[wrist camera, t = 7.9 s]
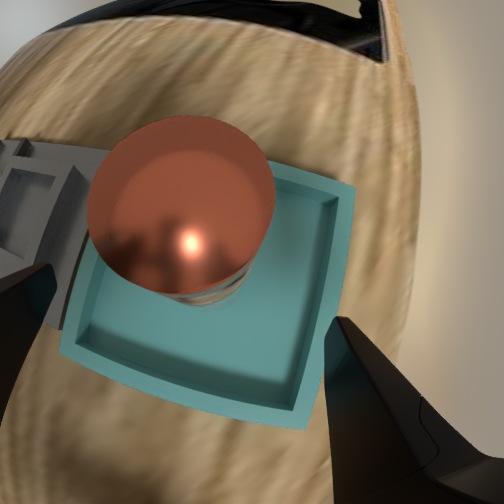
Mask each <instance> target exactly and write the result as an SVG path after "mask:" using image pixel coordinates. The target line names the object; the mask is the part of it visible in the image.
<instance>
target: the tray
mask: <svg viewBox="0 0 504 504" xmlns="http://www.w3.org/2000/svg"><path fill="white" fill-rule="evenodd" d="M267 161H268V163H269V166H270V168H271V170H272V174H273V178H274V183H275V207H274V212H273V217H272V220H271V223H270V225H269V228H268V231H267V233H266V235H265V238H264V240H263V242H262V244H261V247H260V249H259V251H258V254H257V256H256V258H255V260H254V263H253V265H252V267H251V270H250V272H249V274H248V276H247V279H246V281H245V283H244V285H243V288H242V290H241V292H240V294H239V295H238V297H237V298H236V299H235V300H234V301H233V302H232V303H231V304H229V305H228V306H226V307H224V308H222V309H219V310H215V311H201V310H197V309H194V308H192V307H189V306H187V305H184V304H182V303H179V302H176V301H174V300H171V299H169V298H166V297H164V296H162V295H159V294H157V293H154V292H152V291H150V290H147V289H145V288H143V287H140V286H138V285H136V284H133V283H131V282H129V281H127V280H125V279H124V278H122V277H121V276H119V275H118V274H116V273H115V272H114V271H113V270H112V269H111V268H110V267H109V266H107V264H106V263H105V262H104V261H103V259H102V258H101V257H100V255H99V254H98V252H97V250H96V249H95V247H94V245H93V242H92V239H91V237H90V236H89V239H88V242H87V245H86V247H85V250H84V253H83V256H82V259H81V262H80V266H79V269H78V272H77V275H76V279H75V282H74V286H73V289H72V293H71V297H70V301H69V304H68V309H67V313H66V317H65V322H64V326H63V331H62V336H61V341H60V347H59V353H60V354H62V355H63V356H65V357H67V358H69V359H71V360H73V361H75V362H77V363H79V364H81V365H83V366H85V367H87V368H89V369H91V370H93V371H95V372H97V373H99V374H101V375H104V376H106V377H108V378H110V379H113V380H115V381H117V382H120V383H122V384H124V385H127V386H129V387H132V388H134V389H137V390H139V391H142V392H145V393H148V394H150V395H153V396H156V397H159V398H162V399H165V400H168V401H171V402H174V403H177V404H180V405H183V406H187V407H190V408H194V409H197V410H201V411H205V412H208V413H212V414H216V415H220V416H225V417H229V418H233V419H238V420H243V421H248V422H253V423H259V424H264V425H270V426H277V427H284V428H291V429H300V430H306V427H307V424H308V421H309V418H310V415H311V412H312V409H313V406H314V402H315V399H316V396H317V392H318V389H319V385H320V382H321V378H322V374H323V371H324V338H325V335H326V333H327V330H328V328H329V326H330V324H331V322H332V320H333V318H334V317H336V316H337V311H338V307H339V302H340V296H341V291H342V286H343V280H344V274H345V269H346V262H347V256H348V249H349V243H350V235H351V228H352V220H353V211H354V202H355V192H356V187H353V186H350V185H348V184H345V183H342V182H339V181H336V180H333V179H330V178H327V177H324V176H321V175H317V174H314V173H311V172H308V171H304V170H301V169H298V168H294V167H291V166H287V165H284V164H280V163H277V162H273V161H269V160H267Z"/></svg>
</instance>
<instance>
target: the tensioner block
mask: <svg viewBox="0 0 504 504" xmlns="http://www.w3.org/2000/svg"><path fill="white" fill-rule="evenodd" d="M109 152H110V150H103V149H96V148H88V147H81V146H72V145H63V144H54V143H43V142H31V141H28V139H27V138H22V139H21V141H16V140H0V279H1V278H3V277H5V276H8V275H10V274H12V273H15V272H17V271H19V270H22V269H24V268H26V267H29V266H31V265H34V264H36V263H39V262H42V261H43V262H47V263H50V264H52V266H53V269H54V273H55V276H56V280H57V291H56V293H55V296H54V298H53V300H52V302H51V304H50V307H49V309H48V311H47V313H46V316H45V318H44V321H43V322H45V323H46V324H48V325H50V326H52V327H54V328H55V329H57V330H63V326H64V322H65V317H66V313H67V309H68V304H69V301H70V297H71V293H72V289H73V286H74V282H75V279H76V275H77V272H78V269H79V266H80V262H81V259H82V256H83V253H84V250H85V247H86V245H87V242H88V239H89V236H90V233H89V229H88V225H87V200H88V194H89V190H90V187H91V184H92V181H93V178H94V176H95V174H96V172H97V170H98V168H99V166H100V165H101V163H102V162H103V160H104V159H105V158H106V156H107V155H108V154H109Z"/></svg>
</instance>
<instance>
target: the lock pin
mask: <svg viewBox="0 0 504 504" xmlns="http://www.w3.org/2000/svg"><path fill="white" fill-rule="evenodd" d="M274 207H275V183H274V178H273V174H272V170H271V168H270V166H269V163H268V161H267V159H266V157H265V156H264V154H263V152H262V151H261V150H260V148H259V147H258V146H257V145H256V143H255V142H254V141H253V140H251V139H250V138H249V137H248V136H247V135H246V134H244V133H243V132H242V131H240V130H239V129H237V128H235V127H233V126H232V125H230V124H227V123H225V122H222V121H220V120H216V119H212V118H208V117H201V116H177V117H171V118H166V119H162V120H159V121H155V122H153V123H150V124H148V125H145V126H143V127H141V128H139V129H138V130H136V131H134V132H133V133H131V134H130V135H128V136H127V137H125V138H124V139H123V140H122V141H121V142H119V143H118V144H117V145H116V146H115V147H114V148H113V149H112V150H111V151H110V152H109V154H108V155H107V156H106V158H105V159H104V160H103V162H102V163H101V165H100V166H99V168H98V170H97V172H96V174H95V176H94V178H93V181H92V184H91V187H90V190H89V194H88V200H87V225H88V229H89V233H90V237H91V239H92V242H93V245H94V247H95V249H96V250H97V252H98V254H99V255H100V257H101V258H102V259H103V261H104V262H105V263H106V264H107V266H109V267H110V268H111V269H112V270H113V271H114V272H115V273H116V274H118V275H119V276H121V277H122V278H124V279H125V280H127V281H129V282H131V283H133V284H136V285H138V286H140V287H143V288H145V289H147V290H150V291H152V292H154V293H157V294H159V295H162V296H164V297H166V298H169V299H171V300H174V301H176V302H179V303H182V304H184V305H187V306H189V307H192V308H194V309H197V310H201V311H215V310H219V309H222V308H224V307H226V306H228V305H229V304H231V303H232V302H233V301H234V300H235V299H236V298H237V297H238V295H239V294H240V292H241V290H242V288H243V285H244V283H245V281H246V279H247V276H248V274H249V272H250V270H251V267H252V265H253V263H254V260H255V258H256V256H257V254H258V251H259V249H260V247H261V244H262V242H263V240H264V238H265V235H266V233H267V231H268V228H269V225H270V223H271V220H272V217H273V212H274Z"/></svg>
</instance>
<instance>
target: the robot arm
mask: <svg viewBox="0 0 504 504" xmlns="http://www.w3.org/2000/svg"><path fill="white" fill-rule="evenodd" d="M56 291H57V280H56V276H55V273H54V269H53V266H52V264H50V263H47V262H43V261H42V262H39V263H36V264H34V265H31V266H29V267H26V268H24V269H22V270H19V271H17V272H15V273H12V274H10V275H8V276H5V277H3V278H1V279H0V426H1V422H2V419H3V416H4V413H5V410H6V407H7V404H8V401H9V398H10V395H11V393H12V390H13V387H14V385H15V382H16V380H17V377H18V375H19V372H20V370H21V368H22V365H23V363H24V361H25V359H26V356H27V354H28V352H29V350H30V348H31V346H32V344H33V342H34V340H35V337H36V335H37V334H38V332H39V329H40V327H41V325H42V323H43V321H44V318H45V316H46V313H47V311H48V309H49V307H50V304H51V302H52V300H53V298H54V296H55V293H56ZM324 387H325V397H326V406H327V416H328V426H329V436H330V448H331V461H332V476H333V495H334V504H504V458H496V457H491V456H488V455H485V454H483V453H481V452H480V451H478V450H477V449H476V448H475V447H473V445H472V444H470V443H469V442H468V441H467V440H466V439H465V438H464V437H463V436H462V435H461V434H460V433H459V432H458V431H456V430H455V429H454V428H453V427H452V426H451V425H450V424H449V423H448V422H447V421H446V420H445V419H444V418H443V417H442V416H441V415H440V414H439V413H438V412H437V411H436V410H435V409H434V408H433V407H432V406H431V405H430V404H429V403H428V401H426V399H425V398H424V397H423V396H421V394H420V393H419V392H418V391H417V390H416V388H414V386H412V384H411V383H410V382H409V381H408V380H407V379H406V378H405V377H404V375H403V374H402V373H401V372H400V371H399V370H398V369H397V368H396V367H395V366H394V365H393V364H392V363H391V362H390V360H389V359H388V358H387V357H386V356H385V355H384V354H383V353H382V352H381V351H380V350H379V349H378V348H377V347H376V346H375V345H374V344H373V342H372V341H371V340H370V339H369V338H368V337H367V336H366V335H365V334H364V333H363V332H362V331H361V330H360V329H359V328H358V327H357V326H356V325H355V324H354V323H353V322H352V321H351V320H350V319H349V318H348V317H342V316H336V317H334V318H333V320H332V322H331V324H330V326H329V328H328V330H327V333H326V335H325V338H324Z"/></svg>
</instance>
